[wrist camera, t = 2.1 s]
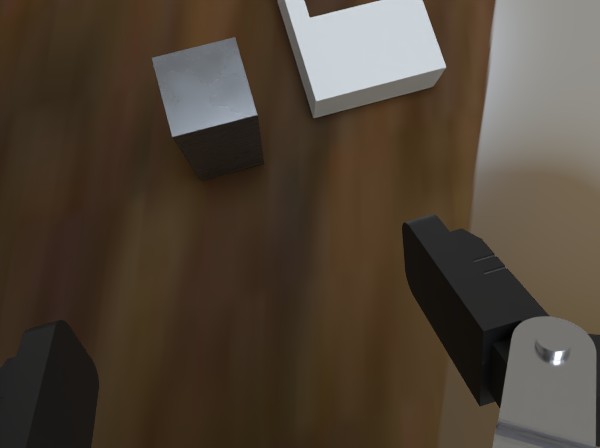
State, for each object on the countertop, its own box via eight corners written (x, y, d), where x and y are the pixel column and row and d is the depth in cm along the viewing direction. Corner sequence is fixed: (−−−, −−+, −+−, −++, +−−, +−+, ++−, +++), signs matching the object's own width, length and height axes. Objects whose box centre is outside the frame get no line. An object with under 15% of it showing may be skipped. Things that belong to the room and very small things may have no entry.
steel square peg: (200, 180, 35) (172, 136, 26) (184, 120, 35) (151, 57, 26) (263, 163, 35) (257, 114, 26) (246, 104, 36) (235, 37, 27)
